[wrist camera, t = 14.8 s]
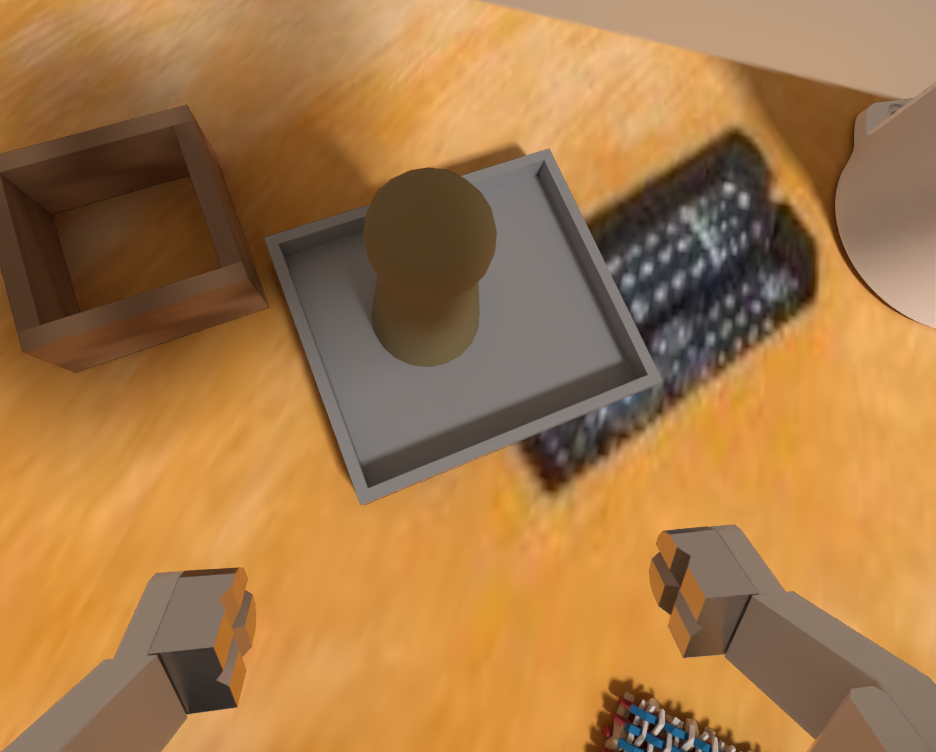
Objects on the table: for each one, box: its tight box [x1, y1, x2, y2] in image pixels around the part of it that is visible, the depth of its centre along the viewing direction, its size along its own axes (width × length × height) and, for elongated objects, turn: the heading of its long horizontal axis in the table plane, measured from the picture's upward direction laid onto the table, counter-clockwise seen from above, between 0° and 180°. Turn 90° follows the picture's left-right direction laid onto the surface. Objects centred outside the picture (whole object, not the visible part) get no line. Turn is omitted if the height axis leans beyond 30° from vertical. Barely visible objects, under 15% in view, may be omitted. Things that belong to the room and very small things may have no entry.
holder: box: [0, 105, 269, 372], centre depth 29 cm, size 10×10×4 cm
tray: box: [264, 149, 662, 505], centre depth 30 cm, size 17×15×2 cm
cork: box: [363, 168, 497, 367], centre depth 25 cm, size 6×6×11 cm
